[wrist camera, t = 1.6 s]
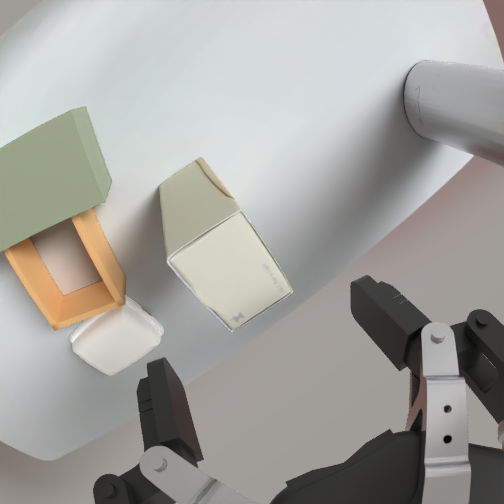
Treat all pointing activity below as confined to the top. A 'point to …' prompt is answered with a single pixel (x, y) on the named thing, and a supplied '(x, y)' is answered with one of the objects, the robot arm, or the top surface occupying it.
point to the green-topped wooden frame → (58, 213)
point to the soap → (116, 337)
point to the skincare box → (218, 248)
